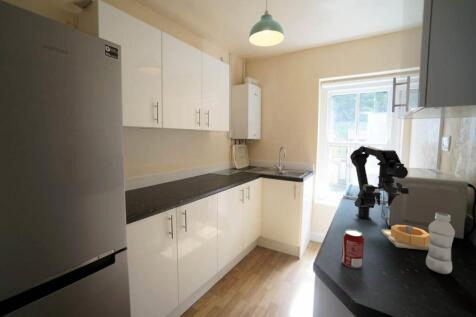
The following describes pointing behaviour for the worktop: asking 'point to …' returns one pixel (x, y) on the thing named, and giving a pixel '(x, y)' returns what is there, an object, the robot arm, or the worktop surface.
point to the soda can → (352, 248)
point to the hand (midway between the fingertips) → (383, 205)
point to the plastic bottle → (440, 244)
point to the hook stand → (403, 244)
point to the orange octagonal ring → (416, 238)
